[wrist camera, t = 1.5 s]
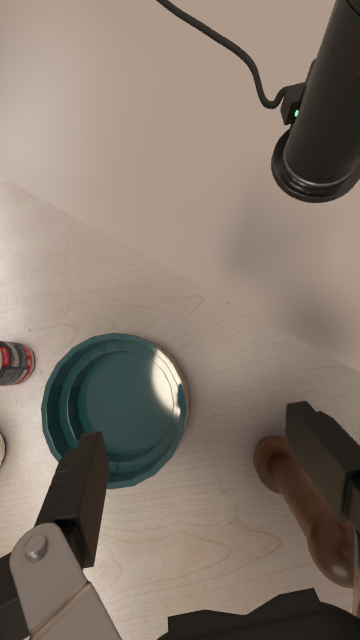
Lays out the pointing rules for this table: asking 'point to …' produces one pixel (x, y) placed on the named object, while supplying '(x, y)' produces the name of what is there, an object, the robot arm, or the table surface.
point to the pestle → (308, 510)
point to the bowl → (118, 404)
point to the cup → (1, 449)
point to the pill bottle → (15, 363)
